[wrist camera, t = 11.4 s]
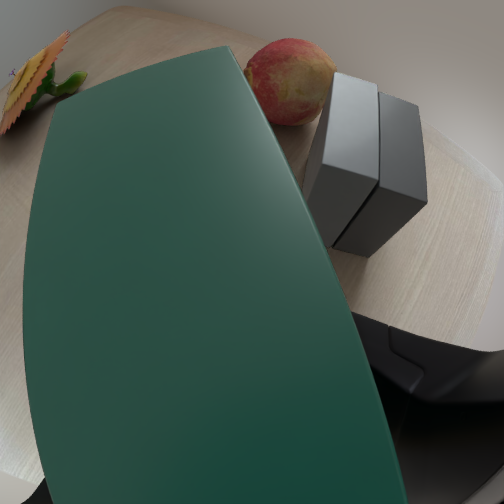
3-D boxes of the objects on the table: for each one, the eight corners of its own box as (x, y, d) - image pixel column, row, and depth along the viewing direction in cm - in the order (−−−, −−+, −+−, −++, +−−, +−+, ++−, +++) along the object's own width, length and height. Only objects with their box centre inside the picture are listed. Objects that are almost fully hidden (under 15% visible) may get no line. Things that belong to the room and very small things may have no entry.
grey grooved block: (369, 258, 23) (432, 198, 14) (291, 238, 24) (321, 163, 15) (375, 174, 26) (421, 100, 17) (308, 155, 26) (334, 71, 17)
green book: (307, 436, 14) (429, 575, 1) (239, 454, 14) (105, 617, 1) (263, 292, 17) (231, 43, 5) (201, 309, 17) (54, 103, 5)
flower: (85, 46, 32) (41, 20, 25) (115, 50, 26) (56, 12, 18) (29, 137, 34) (-17, 118, 27) (42, 171, 28) (-22, 147, 21)
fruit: (275, 158, 26) (287, 87, 18) (226, 106, 28) (225, 38, 20) (340, 126, 28) (364, 62, 20) (290, 80, 30) (300, 18, 22)
